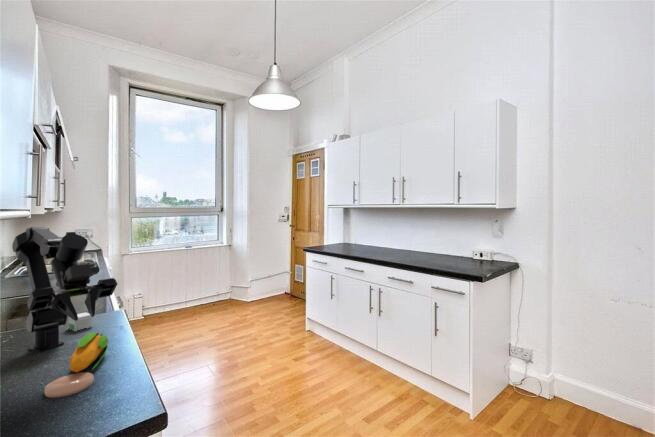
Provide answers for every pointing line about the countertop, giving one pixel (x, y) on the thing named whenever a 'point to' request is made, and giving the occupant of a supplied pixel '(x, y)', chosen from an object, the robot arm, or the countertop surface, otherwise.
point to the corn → (88, 351)
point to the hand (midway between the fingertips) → (85, 317)
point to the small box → (81, 321)
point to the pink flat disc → (68, 385)
